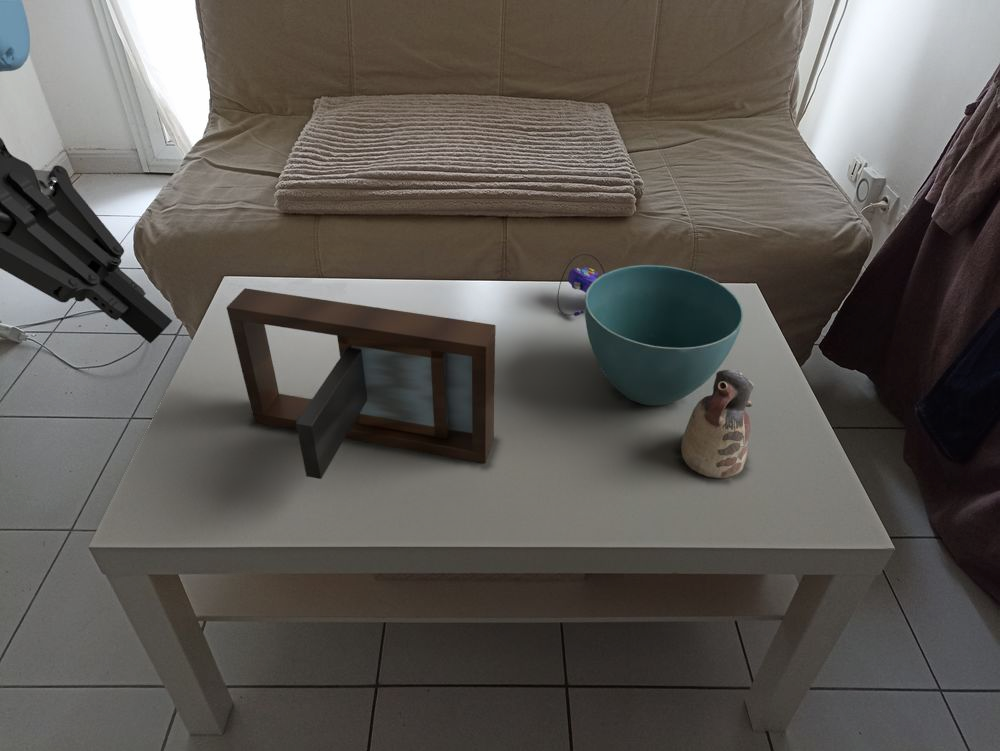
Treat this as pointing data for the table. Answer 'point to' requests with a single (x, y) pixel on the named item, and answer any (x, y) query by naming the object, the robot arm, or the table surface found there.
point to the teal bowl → (660, 330)
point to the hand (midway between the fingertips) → (161, 332)
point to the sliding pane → (374, 397)
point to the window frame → (458, 338)
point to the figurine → (720, 428)
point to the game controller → (581, 280)
